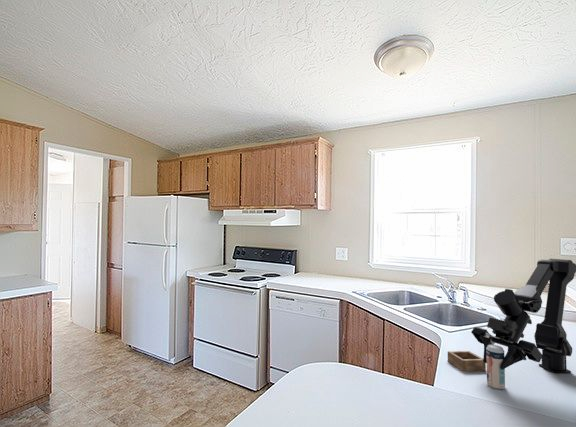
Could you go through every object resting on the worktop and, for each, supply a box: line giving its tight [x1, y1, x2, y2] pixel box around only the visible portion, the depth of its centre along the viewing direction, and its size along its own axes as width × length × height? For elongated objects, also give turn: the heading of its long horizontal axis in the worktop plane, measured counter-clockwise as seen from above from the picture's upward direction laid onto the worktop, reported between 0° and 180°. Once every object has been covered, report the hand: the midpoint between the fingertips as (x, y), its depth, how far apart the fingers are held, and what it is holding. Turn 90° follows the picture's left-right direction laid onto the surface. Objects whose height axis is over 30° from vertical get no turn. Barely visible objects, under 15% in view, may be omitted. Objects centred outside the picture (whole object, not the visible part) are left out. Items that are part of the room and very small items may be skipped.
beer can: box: [486, 344, 506, 390], centre depth 98 cm, size 5×5×12 cm
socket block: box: [447, 350, 487, 372], centre depth 113 cm, size 8×8×4 cm
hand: (492, 365), depth 98 cm, fingers closed on beer can, 5 cm apart
